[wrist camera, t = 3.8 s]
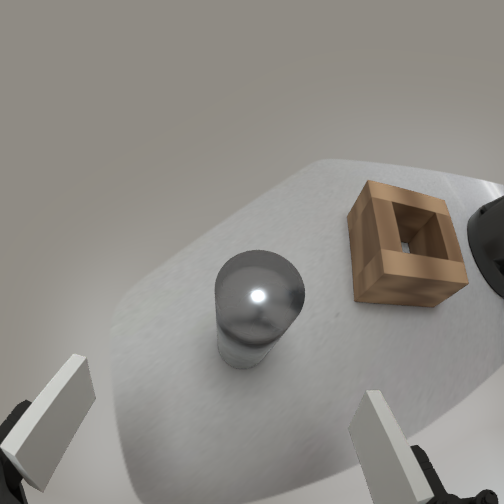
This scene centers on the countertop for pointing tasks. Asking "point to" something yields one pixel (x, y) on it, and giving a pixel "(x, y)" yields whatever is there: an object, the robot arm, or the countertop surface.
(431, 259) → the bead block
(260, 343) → the silver metal peg
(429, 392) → the countertop surface
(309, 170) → the countertop surface
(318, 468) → the countertop surface
